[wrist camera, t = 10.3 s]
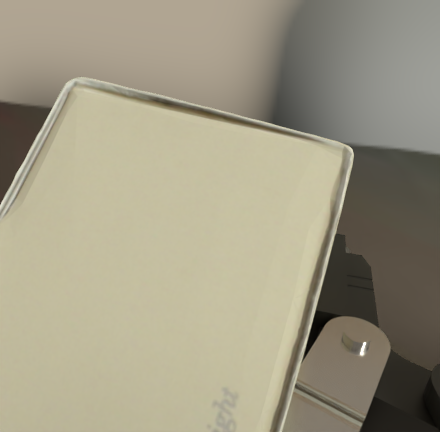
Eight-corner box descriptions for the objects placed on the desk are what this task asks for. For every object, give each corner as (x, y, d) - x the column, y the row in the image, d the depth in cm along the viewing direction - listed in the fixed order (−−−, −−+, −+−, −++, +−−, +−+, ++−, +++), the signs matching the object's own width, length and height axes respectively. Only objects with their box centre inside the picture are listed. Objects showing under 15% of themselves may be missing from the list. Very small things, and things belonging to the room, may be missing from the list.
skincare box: (256, 453, 15) (194, 801, 3) (145, 405, 16) (-194, 552, 4) (307, 286, 16) (378, 140, 5) (203, 252, 17) (62, 63, 6)
